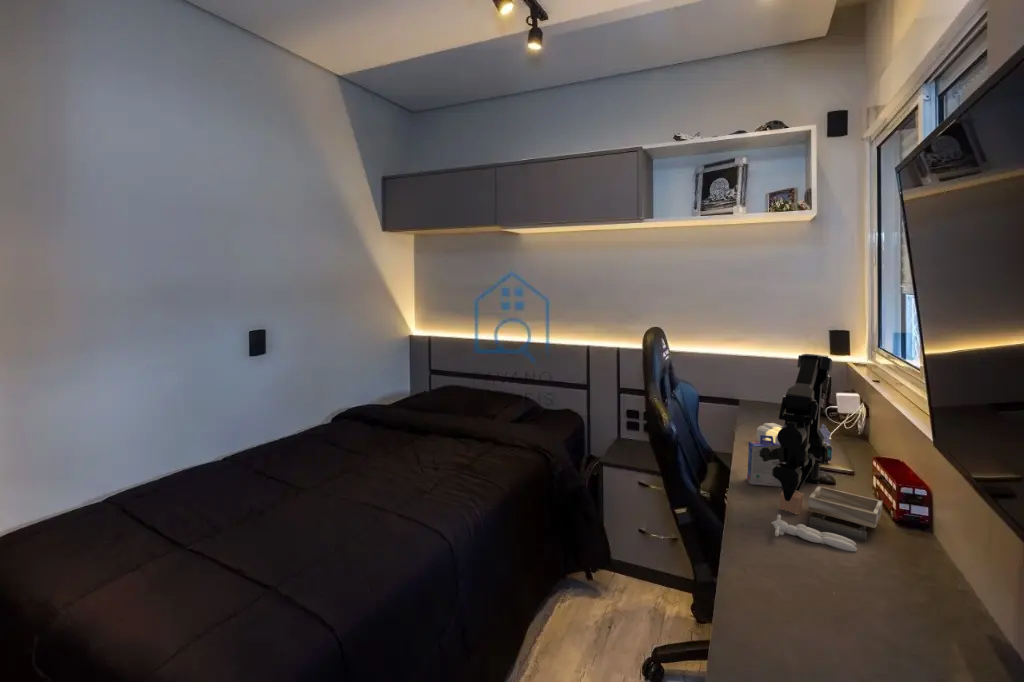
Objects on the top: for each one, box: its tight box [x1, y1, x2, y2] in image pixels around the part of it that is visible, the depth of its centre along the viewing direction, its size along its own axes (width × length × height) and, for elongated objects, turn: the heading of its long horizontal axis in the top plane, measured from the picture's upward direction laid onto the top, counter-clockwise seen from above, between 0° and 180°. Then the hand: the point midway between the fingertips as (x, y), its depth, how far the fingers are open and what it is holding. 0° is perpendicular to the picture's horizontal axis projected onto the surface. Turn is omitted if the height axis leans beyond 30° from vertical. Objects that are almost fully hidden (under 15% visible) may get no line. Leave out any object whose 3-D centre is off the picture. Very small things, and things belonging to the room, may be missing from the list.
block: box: [779, 491, 804, 515], centre depth 143 cm, size 4×4×4 cm
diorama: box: [755, 422, 834, 462], centre depth 189 cm, size 25×10×13 cm, turn 13°
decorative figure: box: [771, 514, 858, 552], centre depth 127 cm, size 4×12×18 cm
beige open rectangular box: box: [807, 485, 884, 529], centre depth 137 cm, size 11×15×5 cm
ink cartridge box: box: [746, 435, 786, 488], centre depth 161 cm, size 10×6×14 cm, turn 79°
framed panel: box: [808, 515, 868, 542], centre depth 140 cm, size 28×12×2 cm, turn 138°
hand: (792, 495), depth 143 cm, fingers open, 9 cm apart
